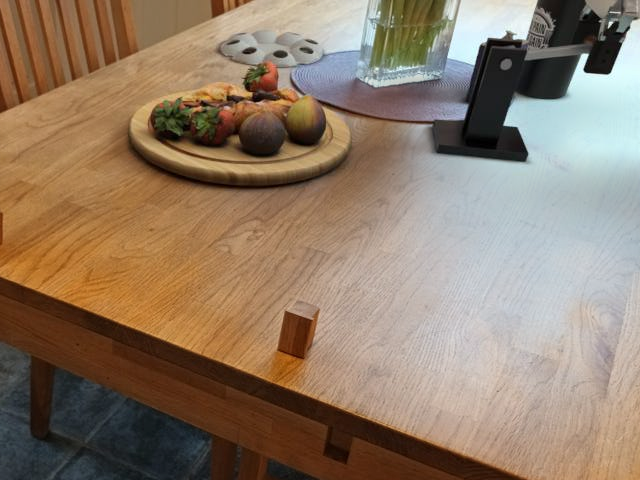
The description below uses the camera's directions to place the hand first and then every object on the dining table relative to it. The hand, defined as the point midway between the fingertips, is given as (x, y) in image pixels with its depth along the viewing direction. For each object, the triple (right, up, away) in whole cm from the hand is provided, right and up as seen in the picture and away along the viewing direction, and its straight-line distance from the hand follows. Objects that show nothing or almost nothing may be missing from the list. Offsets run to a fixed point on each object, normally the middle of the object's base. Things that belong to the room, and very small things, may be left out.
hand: (588, 62), depth 95 cm
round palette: (-35, +20, +43) cm, 59 cm away
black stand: (-11, -8, +10) cm, 16 cm away
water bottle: (+8, +7, +28) cm, 30 cm away
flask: (-2, +4, +24) cm, 25 cm away
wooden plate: (-45, -8, +9) cm, 47 cm away
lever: (-5, 0, +1) cm, 5 cm away
